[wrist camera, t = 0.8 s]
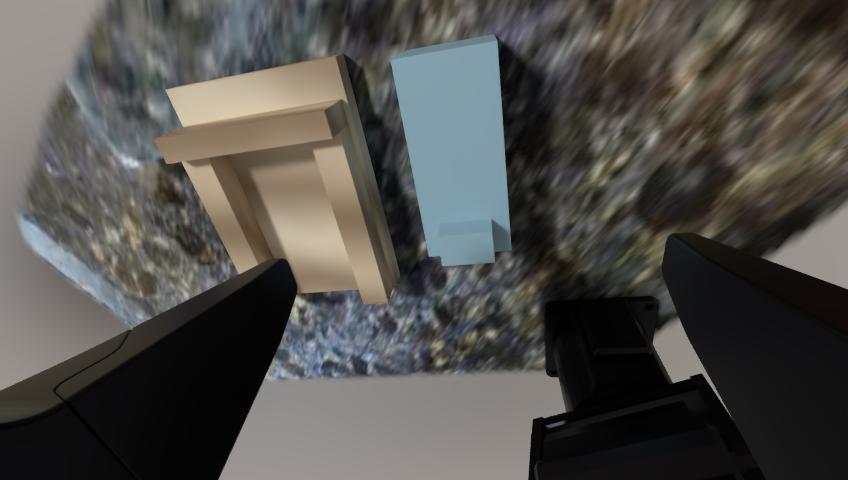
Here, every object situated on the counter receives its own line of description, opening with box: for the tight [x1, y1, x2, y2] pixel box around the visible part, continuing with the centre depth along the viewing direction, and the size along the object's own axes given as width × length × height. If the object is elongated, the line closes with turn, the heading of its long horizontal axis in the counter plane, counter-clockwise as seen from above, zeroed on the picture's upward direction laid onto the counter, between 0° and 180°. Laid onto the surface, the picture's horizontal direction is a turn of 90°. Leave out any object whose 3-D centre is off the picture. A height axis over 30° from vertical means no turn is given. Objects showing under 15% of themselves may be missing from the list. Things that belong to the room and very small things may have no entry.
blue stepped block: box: [391, 34, 511, 266], centre depth 18 cm, size 9×4×5 cm, turn 10°
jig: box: [154, 54, 400, 304], centre depth 21 cm, size 13×9×4 cm
